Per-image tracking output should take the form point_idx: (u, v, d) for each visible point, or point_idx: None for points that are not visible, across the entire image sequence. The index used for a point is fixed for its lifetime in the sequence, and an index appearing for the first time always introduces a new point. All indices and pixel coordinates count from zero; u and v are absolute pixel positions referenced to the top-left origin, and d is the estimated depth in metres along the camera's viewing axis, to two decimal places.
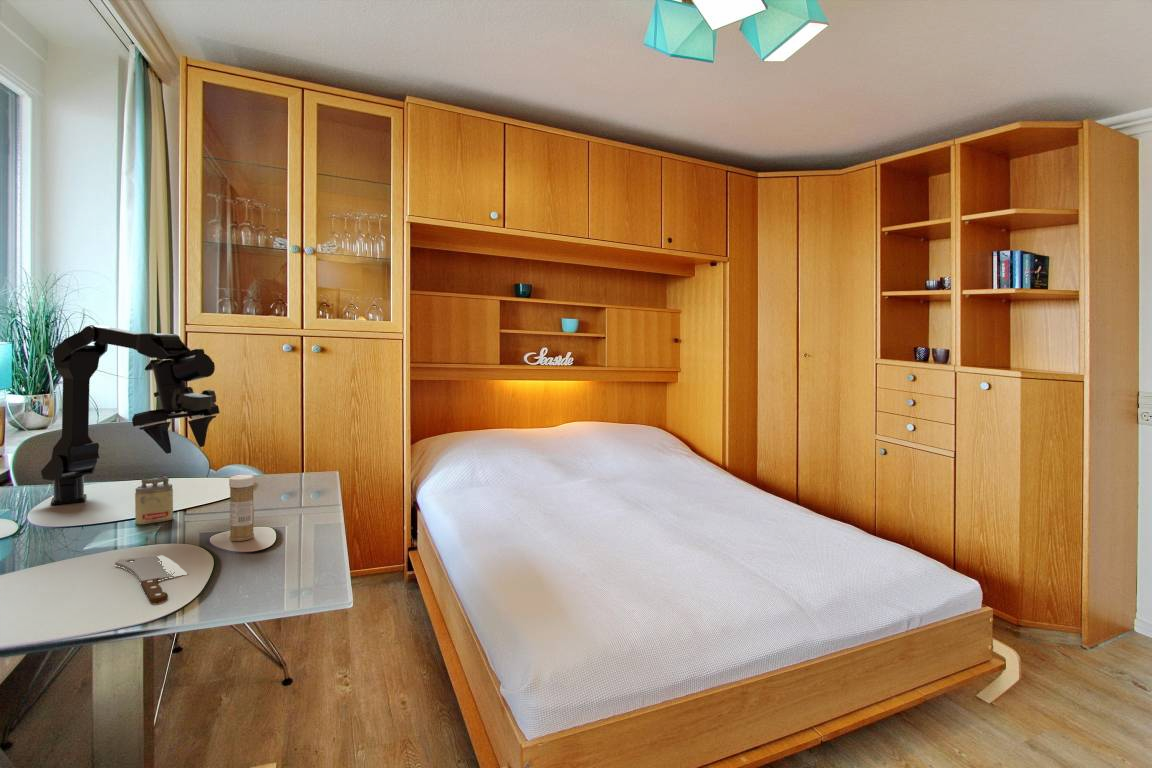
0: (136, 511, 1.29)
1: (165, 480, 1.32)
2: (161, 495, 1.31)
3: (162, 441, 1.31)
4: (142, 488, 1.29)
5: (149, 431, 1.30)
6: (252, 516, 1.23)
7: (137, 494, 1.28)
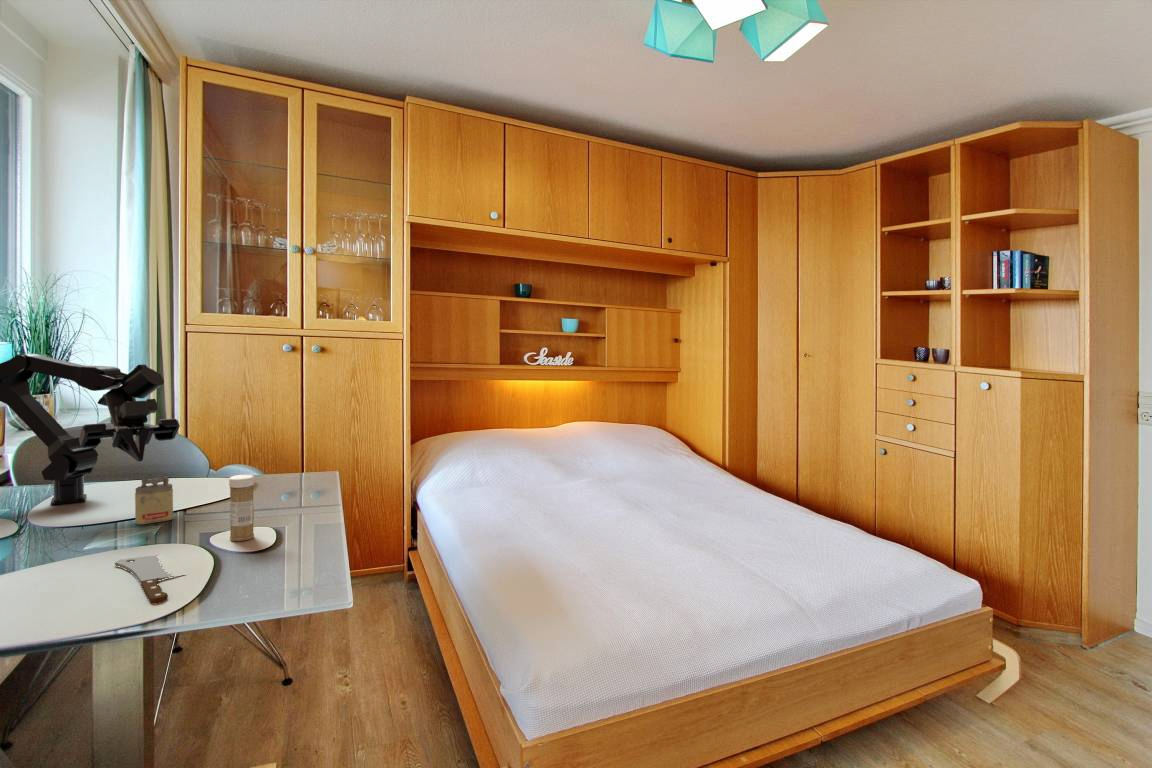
0: (136, 511, 1.29)
1: (165, 480, 1.32)
2: (161, 495, 1.31)
3: (131, 450, 1.36)
4: (142, 488, 1.29)
5: (121, 446, 1.37)
6: (252, 516, 1.23)
7: (137, 494, 1.28)
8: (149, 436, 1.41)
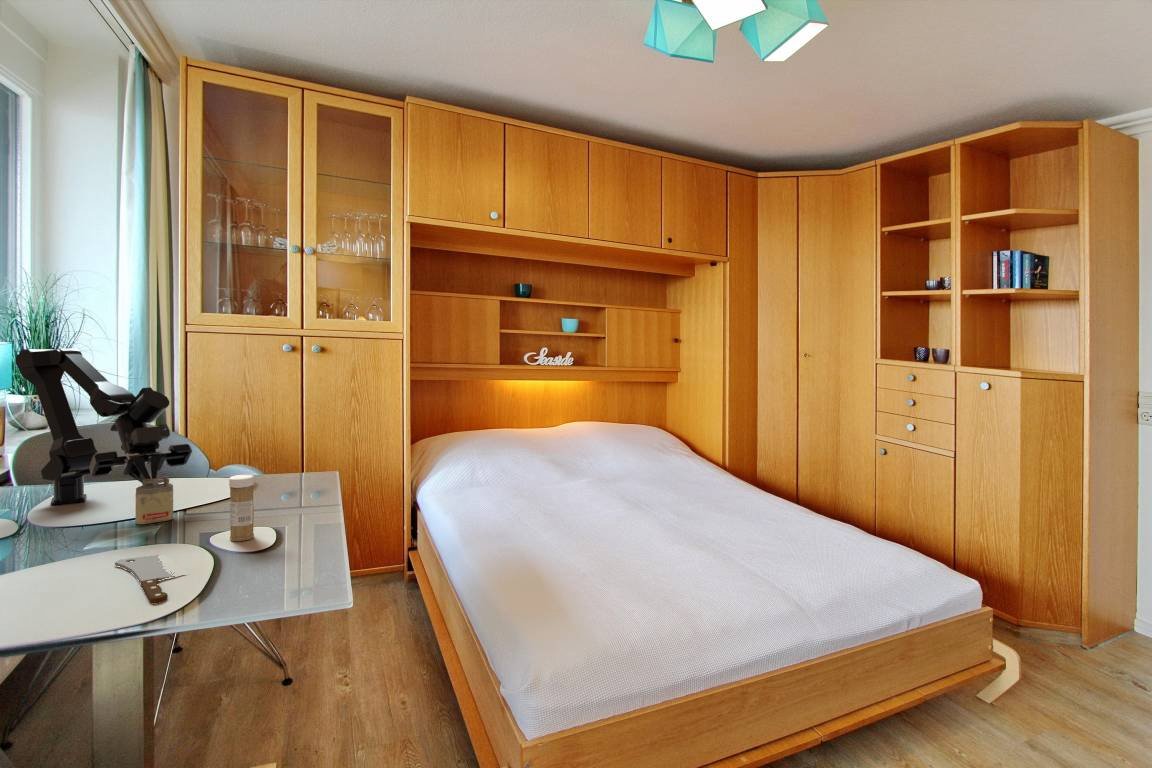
0: (136, 511, 1.28)
1: (166, 481, 1.31)
2: (162, 496, 1.30)
3: (143, 478, 1.32)
4: (143, 488, 1.29)
5: (133, 473, 1.33)
6: (252, 516, 1.23)
7: (137, 494, 1.28)
8: (161, 462, 1.37)
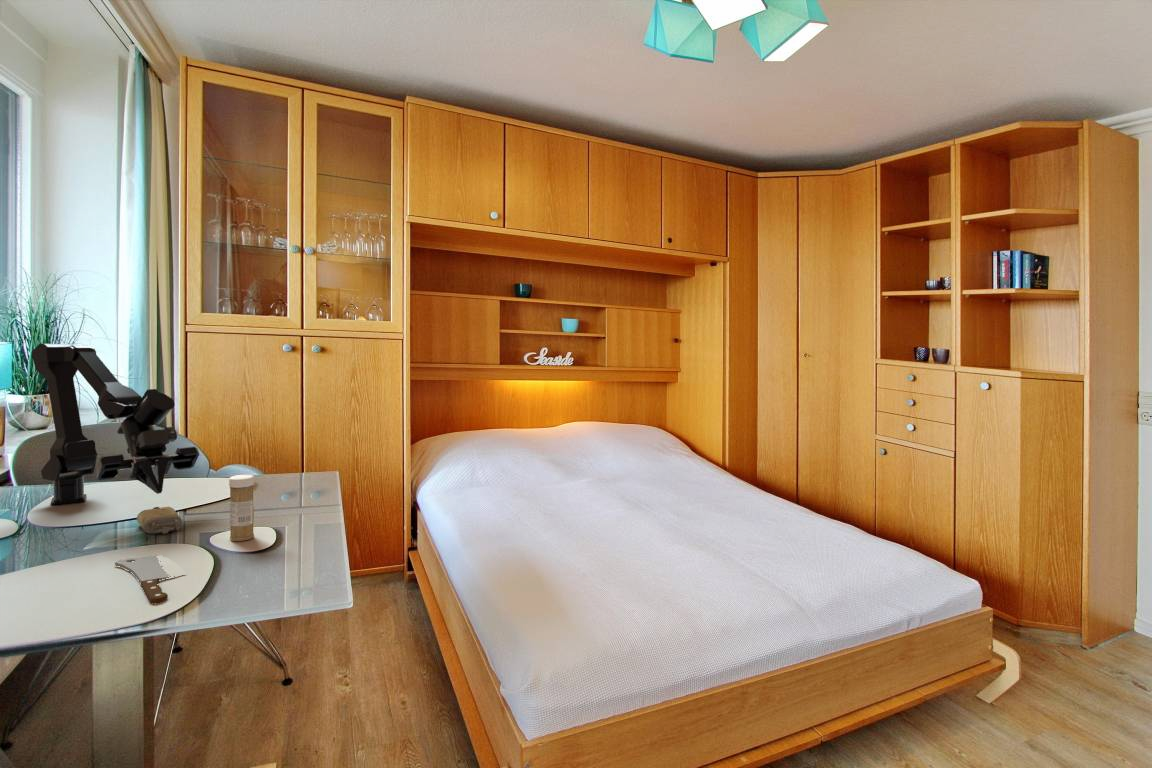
0: (140, 524, 1.26)
1: (175, 529, 1.25)
2: None
3: (149, 482, 1.29)
4: (150, 529, 1.23)
5: (139, 477, 1.31)
6: (252, 516, 1.23)
7: (144, 530, 1.23)
8: (168, 466, 1.34)
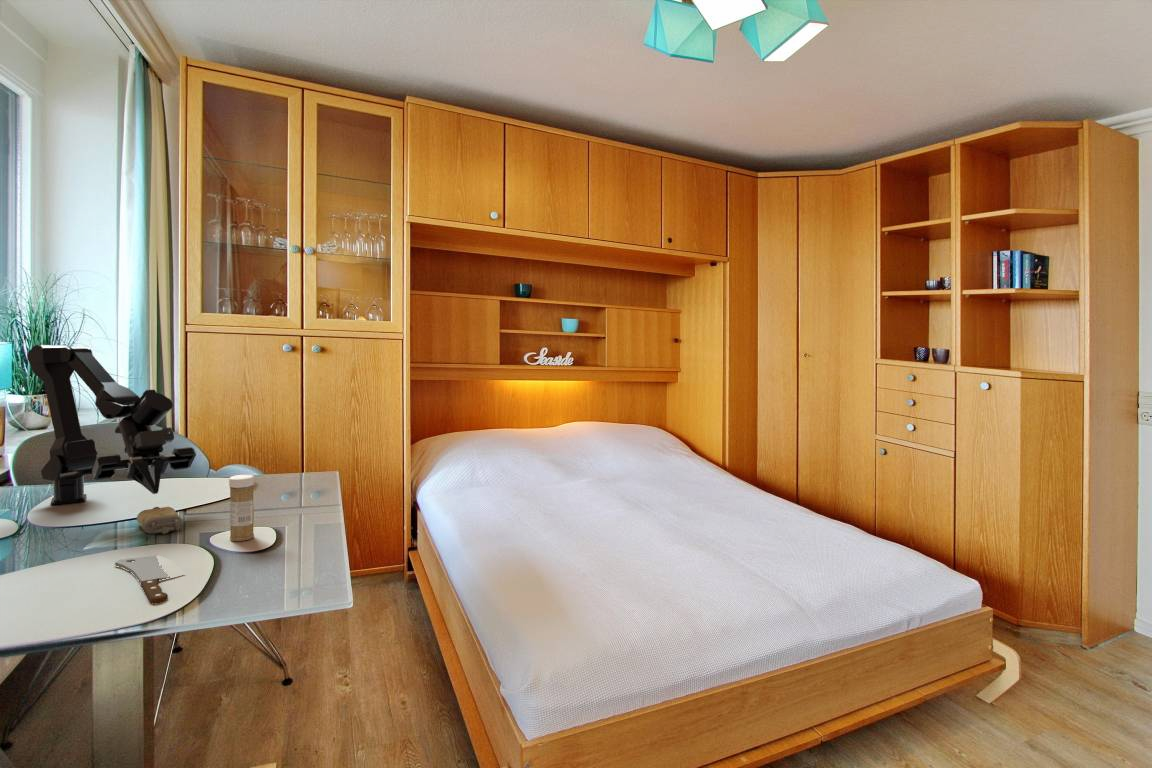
0: (140, 524, 1.26)
1: (175, 529, 1.25)
2: None
3: (146, 482, 1.30)
4: (150, 529, 1.23)
5: (136, 477, 1.31)
6: (252, 516, 1.23)
7: (144, 530, 1.23)
8: (164, 466, 1.35)
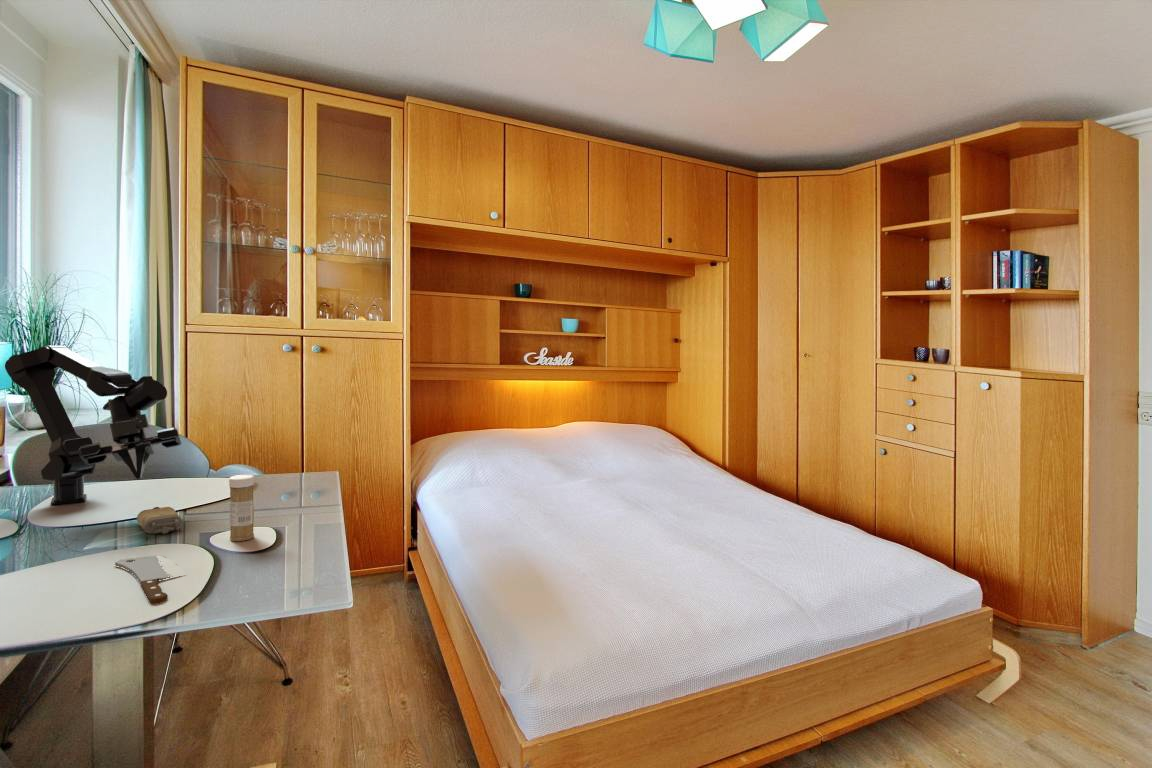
0: (140, 524, 1.26)
1: (175, 529, 1.25)
2: None
3: None
4: (150, 529, 1.23)
5: (124, 461, 1.36)
6: (252, 516, 1.23)
7: (144, 530, 1.23)
8: (149, 449, 1.37)
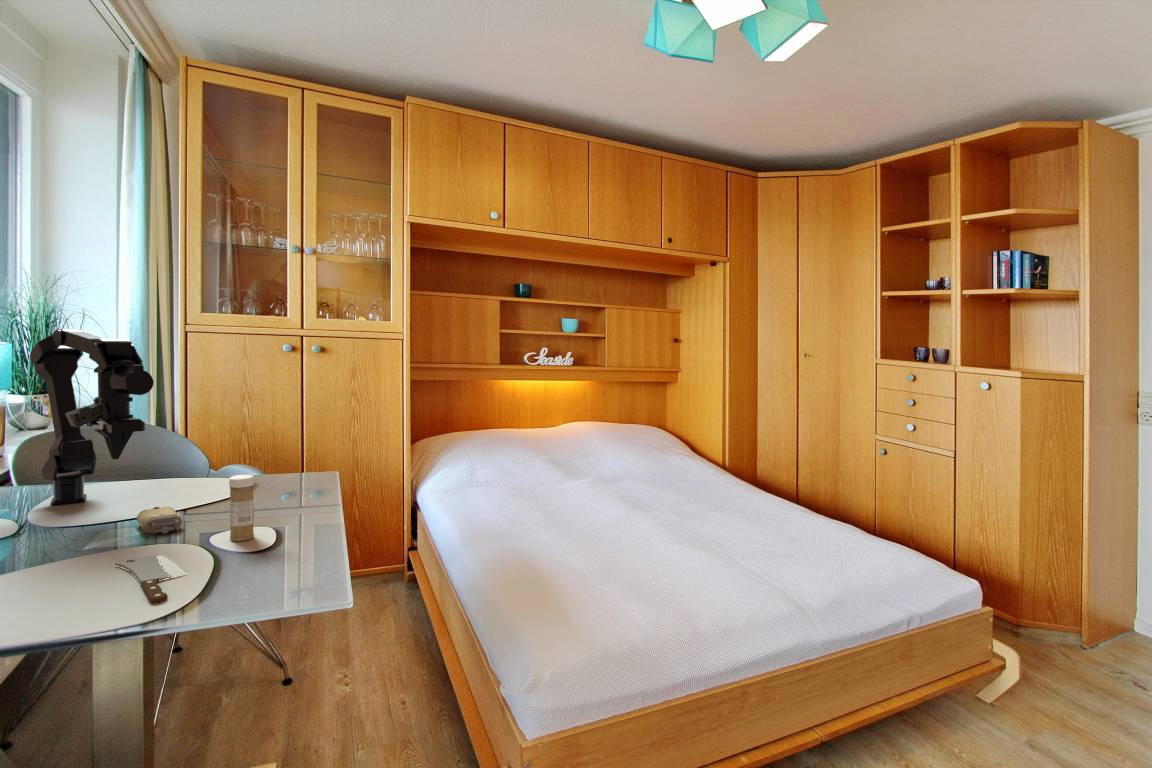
0: (140, 524, 1.26)
1: (175, 529, 1.25)
2: None
3: None
4: (150, 529, 1.23)
5: None
6: (252, 516, 1.23)
7: (144, 530, 1.23)
8: (117, 433, 1.33)
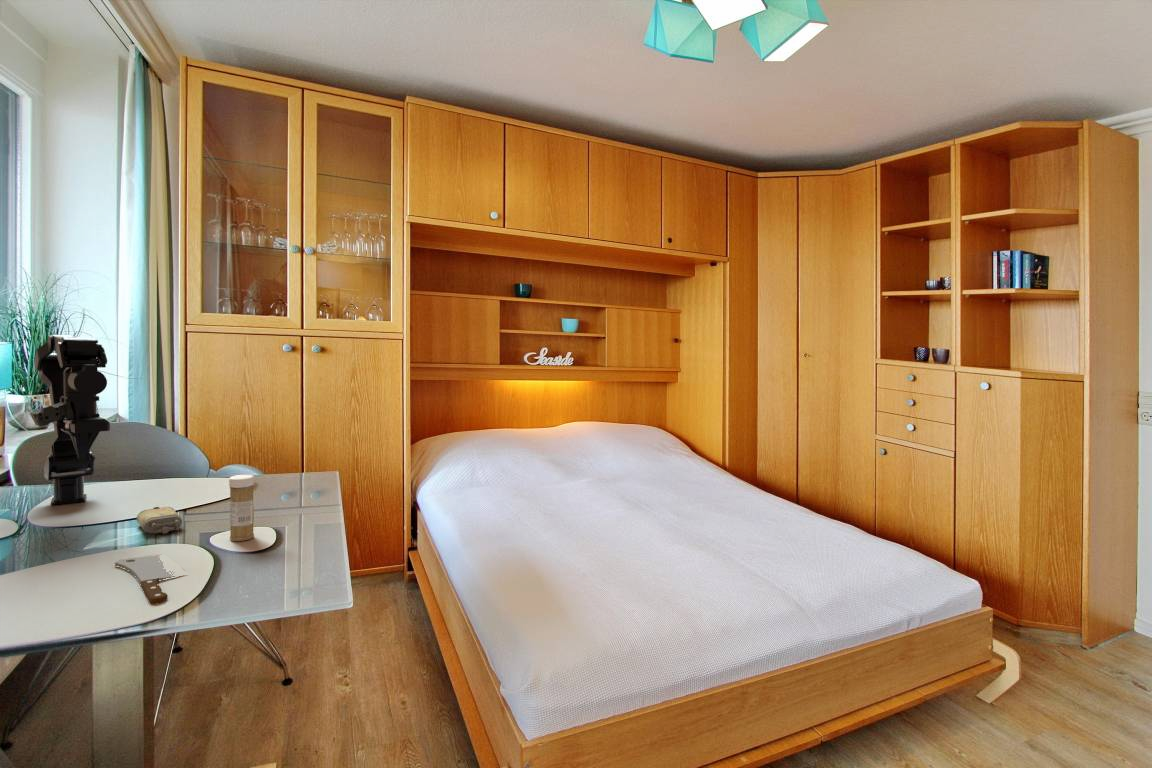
0: (140, 524, 1.26)
1: (175, 529, 1.25)
2: None
3: None
4: (150, 529, 1.23)
5: None
6: (252, 516, 1.23)
7: (144, 530, 1.23)
8: None
